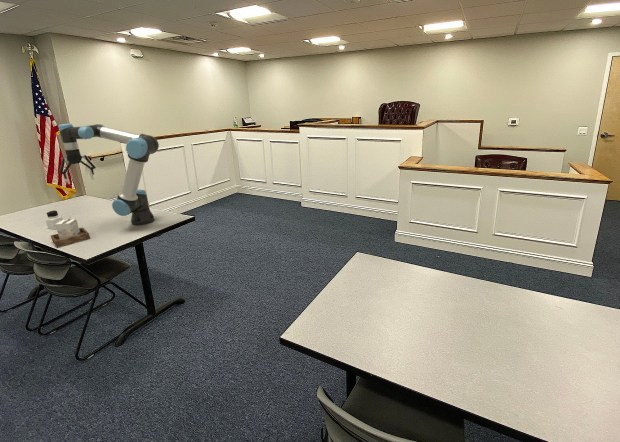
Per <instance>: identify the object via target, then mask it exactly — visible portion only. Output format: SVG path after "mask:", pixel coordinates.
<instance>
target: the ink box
mask: <svg viewBox="0 0 620 442" xmlns="http://www.w3.org/2000/svg"><path fill="white" fill-rule="evenodd" d="M55 226H56V229H55V230H56V231H57V234H58V235H59V238H60V240H62V239H65V238H69V237H73V236H77V235H81V233H80V230H79V228H80V226H79V224H78V220H77V219H76V218H72V217H71V216H69V217H68V218H66V219H63V220H62V221H60V222H58V223H56V224H55Z"/></svg>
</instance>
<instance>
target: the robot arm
mask: <svg viewBox="0 0 620 442" xmlns="http://www.w3.org/2000/svg"><path fill="white" fill-rule="evenodd" d="M58 133H59V134H60V137H61V141H62V145H63V147H64V150H65V155H66V157H65V158H64V157H61V162H60V163H61V164H60V167H59V171H58V173H59V174H61V175H62V176H63V179H65V180H66V182H67V184H68V185H70V184H71V181H70V179H69V175H68V173H67V172H68V170H69V168H70V167H72V165H76V164H80V163H81V164H82V165H83V166H85V167H86V168H88V169H89V170H88V171H89V175H90V179H91V180H92V181H94V180H95V178H94V174H95V172H94V170H95V169H96V168H97V167H96V166H95V165H94V164H93V162H92V161H91V160H90V159H89V158H88V155H86V154H84V155H82V154H81V151H80V149H79V143H78V140H91V139H93V138H100V139H106V140H109V141H114V142H116V143H117V142H118V143H121V144H125V151H126V153H127V157H128V158H129V160H128V164H127V168H126V173H125V176H124V181H123V185H122V188H121V191H119V192H118V194H117V198H116V199H114V200H113V201H112V203H111V207H112V210H113V211H114V213H116V215H119V216H120V217H125V216H128V215H131V217H130V222H131V224H132V225H133V226H142V225H148V224H150V223H152V222H154V221H155V220H156V219H155V215H154V214H153V212H152V211H151V209H150V205H149V200H148V195H147V192H146V190H145V189H139V184H140V182H141V178H142V173H143V171H144V165H145V163H148V162H149V159H150V155H153V154H155V153H156V152H157V151H158V149H159V147H160V144H159V143H160V142H159V140H157V138H156V137H155V136H153V135H150V134H146V133H145V134H144V133H140V134H139V133H138V134H137V133H133V132H129V131H126V130H125V131H124V130H120V129H117V128H111V127H107V126H105V125H103V124H91V125H83V126H73V124H72V123H62V124H60V123H59V125H58ZM83 159H84V160H86V162H87V163H88V164H89V165H88V164H87V163H86V162H85V161H83ZM66 162H68V163H67V165H66V164H65V163H66ZM65 165H66V167H65ZM64 167H65V168H64Z"/></svg>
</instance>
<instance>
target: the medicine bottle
mask: <svg viewBox="0 0 620 442" xmlns="http://www.w3.org/2000/svg"><path fill="white" fill-rule="evenodd" d="M46 216H47V218H45V219H44V220H45V223H46V226H47V229H48V230H57V229H56V226H55V224H56V223H58V222H60V221H62V220H64V218H63V217H62V216H60V215H59V213H58V211H57V210H49V211H47V212H46Z"/></svg>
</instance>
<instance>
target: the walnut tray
mask: <svg viewBox="0 0 620 442" xmlns="http://www.w3.org/2000/svg"><path fill="white" fill-rule="evenodd" d="M79 230H80V233H81V235H77V236H73V237H69V238H65V239H62V240H60V238H59V235H58V233H55V234H51V235H50V239H51V241H53V242H52V243H53V245H54V246H55V247H56V249H58V248H61V247H64V246H69V245H72V244H75V243H79V242H83V241H84V242H85V241H87V240H90V239H91V236H90V233H89V231H87V230H86V229H85V228H84V227H79Z"/></svg>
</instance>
